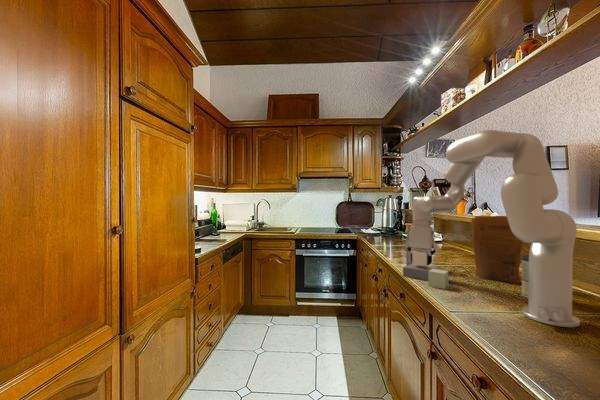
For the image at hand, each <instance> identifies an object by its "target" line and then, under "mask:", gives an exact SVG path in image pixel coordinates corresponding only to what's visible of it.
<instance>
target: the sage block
mask: <svg viewBox="0 0 600 400" xmlns="http://www.w3.org/2000/svg"><path fill="white" fill-rule="evenodd" d="M427 282H428V283H427V285H428V287H432V288H437V289H441V288H442V289H441V290H445V289H446V288H448V287H449V270H446V269H445V270H444V269H440V268H439V269H431V270H430V271H428V281H427Z"/></svg>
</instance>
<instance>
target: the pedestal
mask: <svg viewBox="0 0 600 400" xmlns="http://www.w3.org/2000/svg"><path fill="white" fill-rule="evenodd" d="M431 269H439V270H440V267H439V266H436V265H435V266H434V265H428V266H420V265H413V264H412V263H411V264H409V265H405V266H403V267H402V276H403V277H406V278H410V277H411V279H416V280H417V279H418V280H421V281H426V282H428V271H430V270H431Z"/></svg>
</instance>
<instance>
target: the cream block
mask: <svg viewBox="0 0 600 400" xmlns="http://www.w3.org/2000/svg"><path fill="white" fill-rule="evenodd" d="M427 256H428V252H427V251H425V250H414V251H412V264H413V265H420V266H428V264H427Z"/></svg>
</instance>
